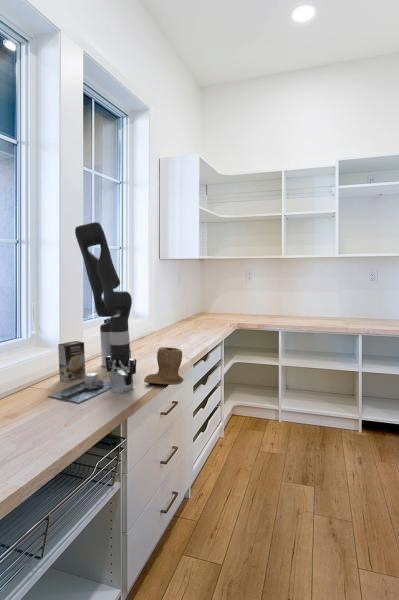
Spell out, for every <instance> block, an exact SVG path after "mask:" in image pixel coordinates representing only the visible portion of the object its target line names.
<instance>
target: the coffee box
mask: <svg viewBox="0 0 399 600" xmlns="http://www.w3.org/2000/svg"><path fill="white" fill-rule="evenodd" d="M57 347H58V349H57V350H58V367H59V368H58V369H59V373H58V374H59V381H60V382H64V383H67V384H68V383H71V382H76V381H79V380H83V379H85V375H86V357H85V355H86V354H85V352H86V351H85V342H83V341H78V340H74V341H69V342H64V343H58V344H57Z"/></svg>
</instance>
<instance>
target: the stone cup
mask: <svg viewBox="0 0 399 600" xmlns="http://www.w3.org/2000/svg"><path fill="white" fill-rule="evenodd" d="M182 358H183V350H182V349H180V348H177V347H167V346H165V347H164V346H163V347H162V346H161V347H159V348H158V350H157V352H156V362H157V365H158V372H156V373H150V374H148V375H146V377H144V380H143V382H144V383H146V384H147V383H148V384H155V385H174V386H175V385H176V386H177V385H180V384H181V383H183V382H184V377H183V376H180V375H179V372H180V371H179V370H180V367H181V365H182V364H181V363H182V361H183V360H182Z"/></svg>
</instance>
